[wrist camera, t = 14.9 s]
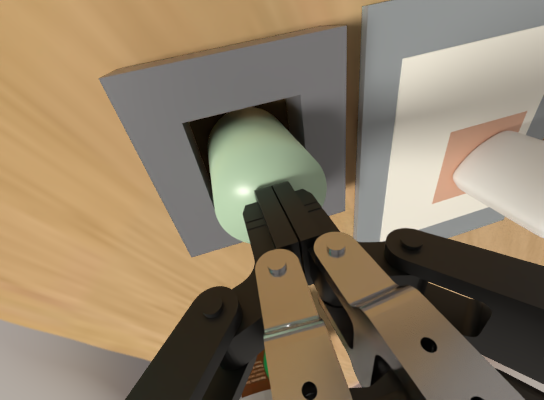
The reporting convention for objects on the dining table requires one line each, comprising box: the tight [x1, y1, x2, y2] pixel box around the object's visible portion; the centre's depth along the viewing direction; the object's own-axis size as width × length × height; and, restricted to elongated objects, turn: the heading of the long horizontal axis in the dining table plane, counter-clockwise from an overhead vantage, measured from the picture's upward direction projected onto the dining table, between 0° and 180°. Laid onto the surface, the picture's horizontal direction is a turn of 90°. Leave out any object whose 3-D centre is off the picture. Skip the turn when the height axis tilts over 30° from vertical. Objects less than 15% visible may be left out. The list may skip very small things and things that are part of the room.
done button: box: [207, 107, 327, 243], centre depth 13 cm, size 5×5×6 cm
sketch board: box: [353, 0, 544, 242], centre depth 21 cm, size 22×18×1 cm
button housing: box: [99, 25, 347, 257], centre depth 15 cm, size 11×11×3 cm
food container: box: [240, 349, 272, 400], centre depth 25 cm, size 12×6×10 cm, turn 14°
